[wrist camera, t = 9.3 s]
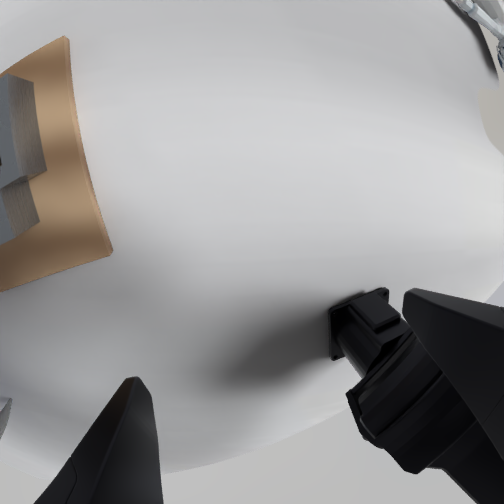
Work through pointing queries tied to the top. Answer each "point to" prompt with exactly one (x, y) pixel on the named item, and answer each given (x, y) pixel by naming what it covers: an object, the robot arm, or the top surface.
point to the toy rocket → (4, 416)
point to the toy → (488, 19)
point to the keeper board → (55, 180)
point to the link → (18, 156)
